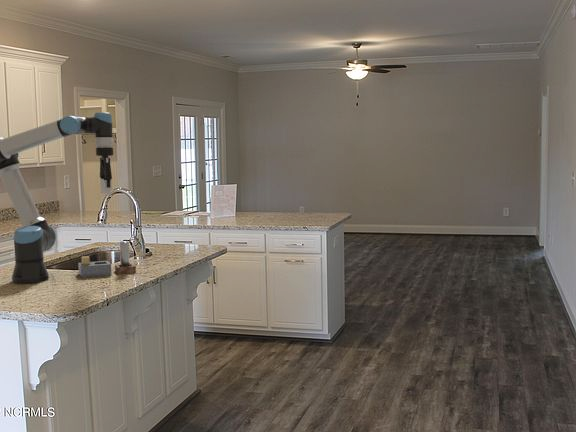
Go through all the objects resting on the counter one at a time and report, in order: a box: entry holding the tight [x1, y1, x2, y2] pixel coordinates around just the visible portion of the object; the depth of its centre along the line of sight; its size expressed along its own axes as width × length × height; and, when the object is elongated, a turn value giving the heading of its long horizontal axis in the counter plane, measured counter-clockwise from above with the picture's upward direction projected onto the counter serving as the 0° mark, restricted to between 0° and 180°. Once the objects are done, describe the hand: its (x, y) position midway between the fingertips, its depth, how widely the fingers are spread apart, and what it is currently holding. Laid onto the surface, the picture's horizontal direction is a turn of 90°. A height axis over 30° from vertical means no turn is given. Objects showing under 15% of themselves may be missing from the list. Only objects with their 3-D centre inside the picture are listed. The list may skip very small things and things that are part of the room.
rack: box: [113, 263, 138, 276], centre depth 307 cm, size 9×9×4 cm
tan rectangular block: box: [81, 255, 91, 265], centre depth 300 cm, size 3×3×7 cm
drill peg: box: [119, 240, 131, 267], centre depth 306 cm, size 4×4×14 cm
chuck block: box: [77, 260, 113, 279], centre depth 301 cm, size 13×10×6 cm
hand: (106, 194), depth 305 cm, fingers open, 13 cm apart
